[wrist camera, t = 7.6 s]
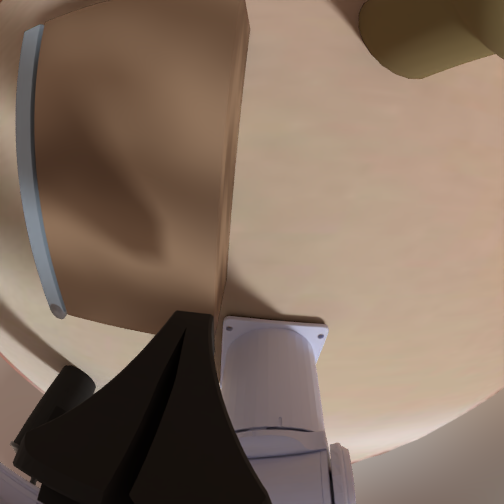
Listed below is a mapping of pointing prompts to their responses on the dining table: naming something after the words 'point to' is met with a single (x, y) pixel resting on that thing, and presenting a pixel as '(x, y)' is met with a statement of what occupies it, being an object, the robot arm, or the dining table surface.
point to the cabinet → (140, 155)
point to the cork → (431, 33)
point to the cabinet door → (33, 168)
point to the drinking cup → (58, 401)
